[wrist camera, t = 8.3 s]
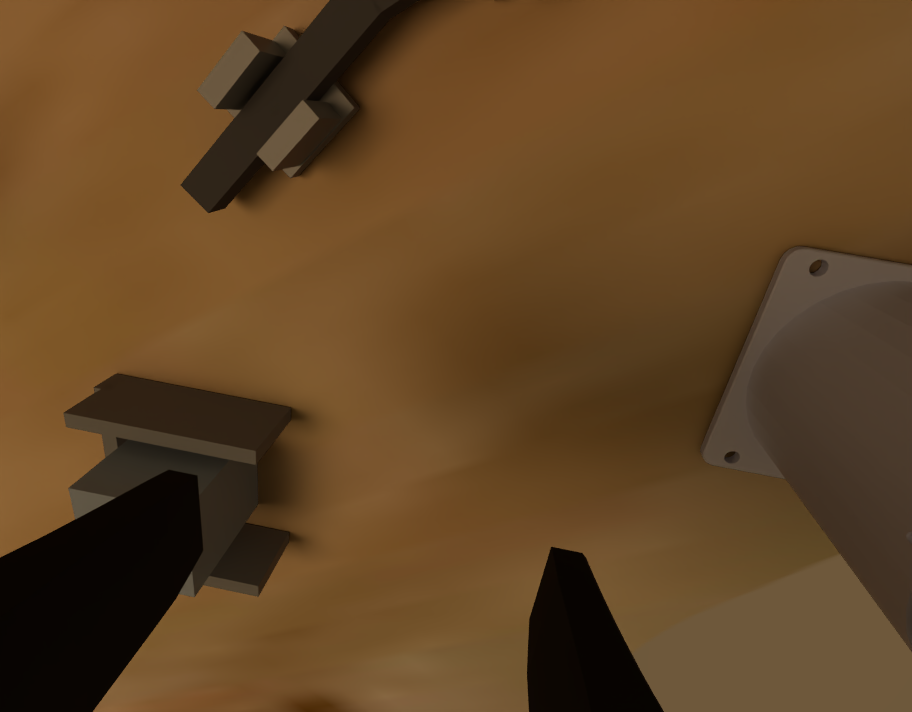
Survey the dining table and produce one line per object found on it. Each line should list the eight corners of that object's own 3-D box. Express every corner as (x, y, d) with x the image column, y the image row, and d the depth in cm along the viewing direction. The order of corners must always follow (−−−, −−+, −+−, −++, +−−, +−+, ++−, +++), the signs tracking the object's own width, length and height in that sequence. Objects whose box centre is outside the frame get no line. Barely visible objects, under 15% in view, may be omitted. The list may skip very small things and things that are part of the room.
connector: (256, 428, 21) (174, 524, 16) (258, 503, 23) (185, 611, 18) (163, 410, 22) (53, 500, 16) (172, 486, 23) (75, 588, 18)
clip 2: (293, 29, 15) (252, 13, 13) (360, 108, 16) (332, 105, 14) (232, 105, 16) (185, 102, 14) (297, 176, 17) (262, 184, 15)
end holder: (290, 407, 21) (255, 451, 18) (288, 542, 24) (258, 596, 21) (116, 373, 21) (55, 411, 18) (136, 510, 24) (86, 560, 21)
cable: (671, -299, 11) (684, -337, 10) (712, -192, 12) (728, -218, 11) (176, 152, 16) (155, 154, 16) (222, 210, 17) (205, 215, 16)
